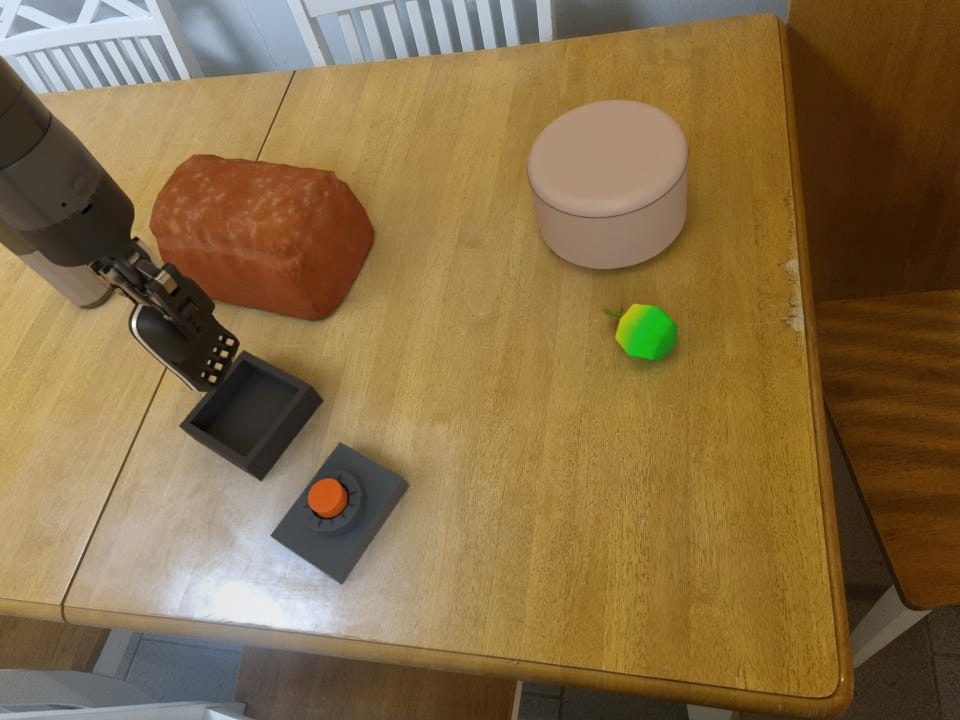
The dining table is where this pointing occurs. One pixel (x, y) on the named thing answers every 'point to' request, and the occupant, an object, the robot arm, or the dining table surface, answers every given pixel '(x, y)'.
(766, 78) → the dining table surface
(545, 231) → the container
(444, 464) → the dining table surface
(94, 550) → the dining table surface
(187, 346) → the battery charger
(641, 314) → the apple
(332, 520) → the switch box
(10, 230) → the bottle
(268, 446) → the dock
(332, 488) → the power button
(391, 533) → the dining table surface
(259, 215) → the bread
